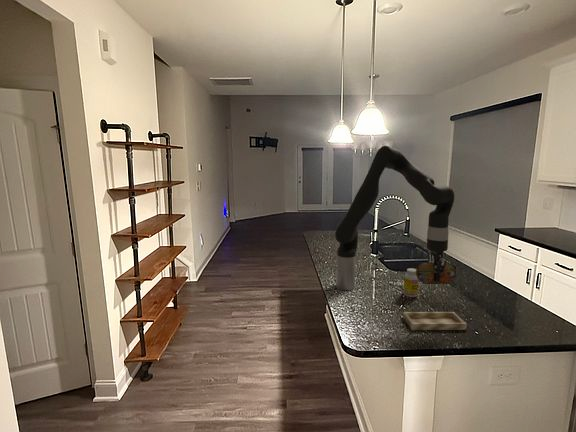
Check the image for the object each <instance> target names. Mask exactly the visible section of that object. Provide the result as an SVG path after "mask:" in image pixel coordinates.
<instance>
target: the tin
mask: <svg viewBox="0 0 576 432" xmlns="http://www.w3.org/2000/svg"><path fill="white" fill-rule="evenodd" d="M435 265H438V264H435ZM436 268H437V267H436ZM415 269H416V276H417V278H418V279H419V282H420V283H421V284H424V285H447V284H450V283H452V282H454V281H455V279H456V277H457V270H456V268H455V267H454V266H453V265H452V264H450V263H449V262H446V266H445V269H444V272H443V273H440V282H435V281H434V266H433V263H428V262H422V263H421V264H419V265H418V266H417V268H415Z"/></svg>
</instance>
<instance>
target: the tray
mask: <svg viewBox="0 0 576 432" xmlns="http://www.w3.org/2000/svg"><path fill="white" fill-rule="evenodd" d="M402 313H403V314H402V318H403V320H404V321H405V323H406V324H407V325H408V327H409V328H410V329H411V330H412V331H442V330H443V331H466V330H467V326H468V325H467V323H466V321H464V320H463V319H462V317H461V316H459V315H458V314H457V313H456V312H455V311H403V312H402ZM465 329H466V330H465Z"/></svg>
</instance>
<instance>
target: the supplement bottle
mask: <svg viewBox="0 0 576 432" xmlns="http://www.w3.org/2000/svg"><path fill="white" fill-rule="evenodd" d="M416 269H417V268H412V267H410V268H407V269H406V273H405V274H404V277H403V291H402V292H403V295H404V296H406V297H409V298H416V297H418V296H419V284H420V283H419V282H420V281H419V279H418V278H417V276H416Z"/></svg>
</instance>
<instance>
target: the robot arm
mask: <svg viewBox="0 0 576 432" xmlns="http://www.w3.org/2000/svg"><path fill="white" fill-rule="evenodd" d="M370 164H371V165H370V167H369V169H368V172H367V174H366V176H365V178H364V180H363V182H362V184H361V185H360V188H359V189H358V191H357V192H356V194H355V196H354V198H353V201H352V203H351V204H350V206H349V209H348V211H347V213H346V215H345V216H344V218H343V219H342V221H341V222H340V224H339V225H338V226H337V228H336V229H335V232H334V233H335V234H334V235H335V239H336V241H337V242H338V243H339V246H338V248H337V250H336V270H335V286H336V289H337V290H341V291H352V290H354V289H355V286H356V278H355V277H356V276H355V275H356V253H357V250H358V242H359V241H358V238H359V233H358V228H357V227H358V225H359V223H360V222H361V221H362V220H363V218H365V216H366V215H367V214H368V213H369V211H370V210H371V208H372V207H373V205H374V204H375V202H376V201H377V199H378V196H379V192H380V187H379V186H380V180H381V179H380V178H381V177H382V176H381V175H382V174H383V173H384V170H385V169H390V170H393V171H395V172H397V173H400V174H401V175H402V176H403V177H404V178H405V181H406V182H407V183H408V184H409V185H410V186H411V187H413V188H414V189H415V190H416V191H418V192H419V195H420V196H421V197H422V198H423V199H424V201H425V202H426V203H427V204H429V205H431V206H435V209H434V210H432V211H430V212H429V213H428V214H429V215H428V222H427V223H428V225H427V231H426V249H427V250H428V251H427V253H426V254H427V261H428V262H427V263H433V266H434V281H435V282H440V273H443V272H444V269H445V266H446V263H447V260H444V258H445V257H444V252H447V250H448V247H449V217H450V214H451V211H452V208H453V205H454V202H455V191H454V190H453V189H452V187H450V186H447V185H442V186H441V185H440V186H435V180H434V179H433V178H432V177H431V176H430V175H429V174H427V173H425V172H424V171H422V170H421V169H420V168H418V167H417V166H416V165H414V164H413V163H412V162H411V161H410V160H409V159H408V158H407V157H406V156H405V155H404V154H403V153H402V151H400V150H399V149H397V148H394V147H391V146H390V145H383V146H381V147H380V148H378V150H377V151H376V153H375V155H374V157H373V160H372V162H371V163H370ZM435 264H438V265H435ZM436 267H437V268H436Z"/></svg>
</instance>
